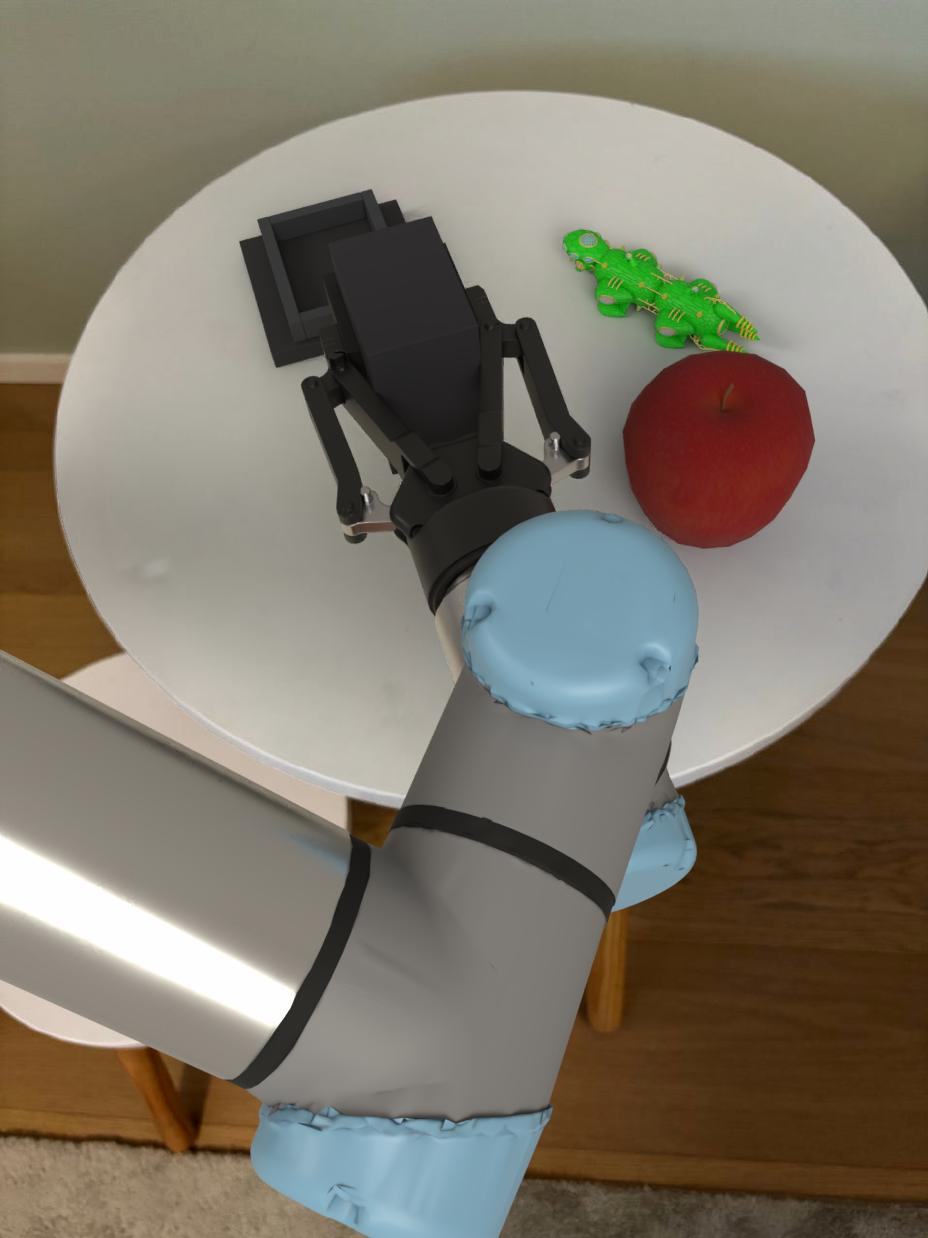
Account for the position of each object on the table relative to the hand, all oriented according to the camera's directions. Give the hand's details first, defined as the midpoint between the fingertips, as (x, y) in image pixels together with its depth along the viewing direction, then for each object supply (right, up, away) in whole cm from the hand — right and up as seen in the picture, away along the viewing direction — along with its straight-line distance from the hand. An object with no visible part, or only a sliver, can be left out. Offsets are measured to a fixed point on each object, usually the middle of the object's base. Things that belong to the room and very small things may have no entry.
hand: (387, 277), depth 61 cm
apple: (+21, -13, +11) cm, 27 cm away
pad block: (+2, -7, +3) cm, 8 cm away
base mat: (-6, +8, +25) cm, 27 cm away
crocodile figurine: (+20, +4, +21) cm, 29 cm away
